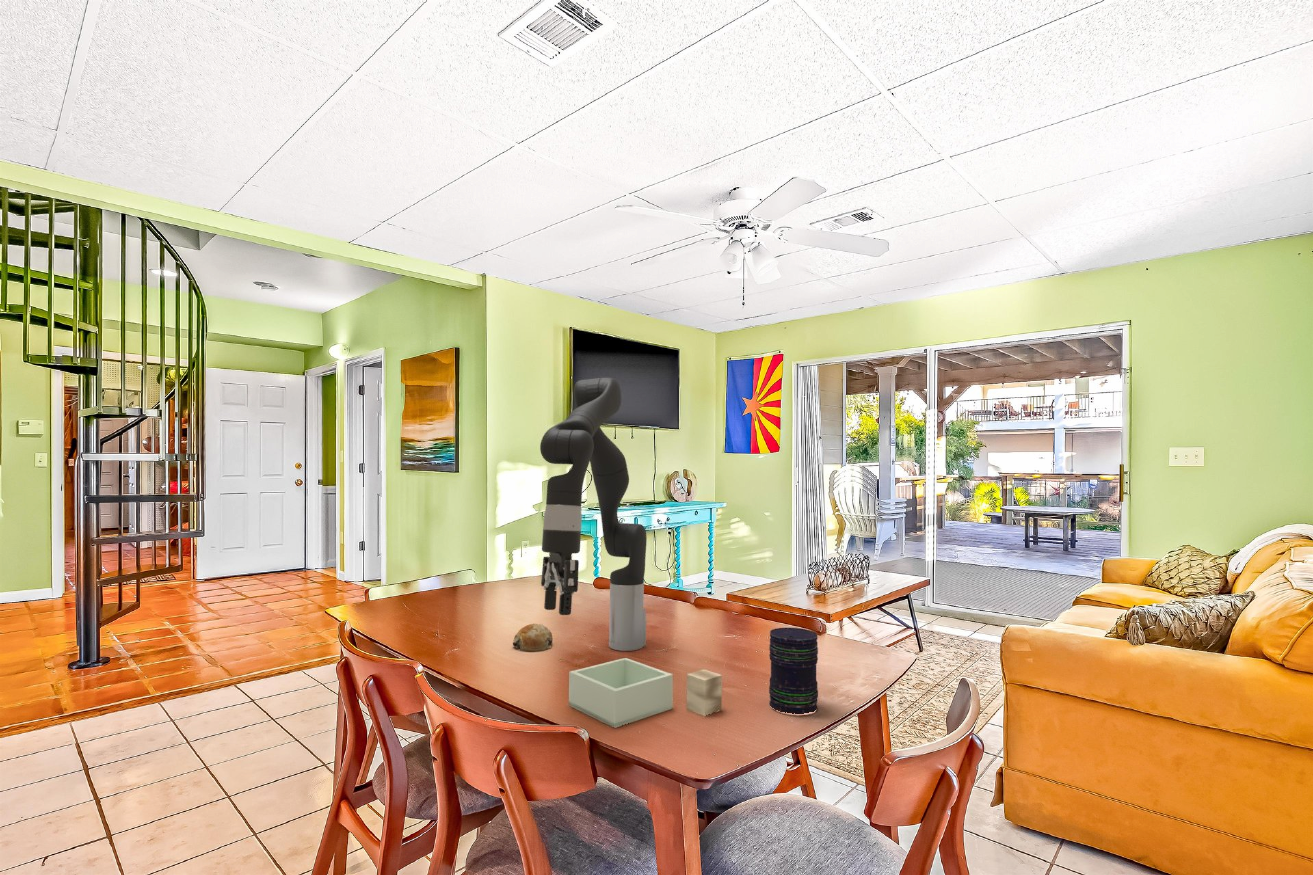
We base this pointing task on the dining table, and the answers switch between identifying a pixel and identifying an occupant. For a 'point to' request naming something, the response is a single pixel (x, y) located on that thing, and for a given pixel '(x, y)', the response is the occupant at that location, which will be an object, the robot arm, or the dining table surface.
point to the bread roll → (533, 638)
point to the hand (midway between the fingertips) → (557, 612)
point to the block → (704, 692)
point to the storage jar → (793, 670)
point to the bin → (620, 691)
